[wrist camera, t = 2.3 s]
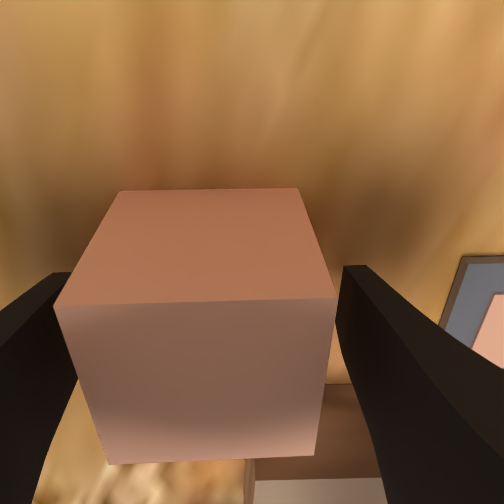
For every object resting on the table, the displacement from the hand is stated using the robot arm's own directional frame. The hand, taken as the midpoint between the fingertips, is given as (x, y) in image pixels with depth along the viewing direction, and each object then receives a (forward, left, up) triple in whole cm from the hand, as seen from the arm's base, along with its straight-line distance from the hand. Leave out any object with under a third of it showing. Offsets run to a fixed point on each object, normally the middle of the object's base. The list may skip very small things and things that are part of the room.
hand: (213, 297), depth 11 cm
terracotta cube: (0, 0, -2) cm, 2 cm away
